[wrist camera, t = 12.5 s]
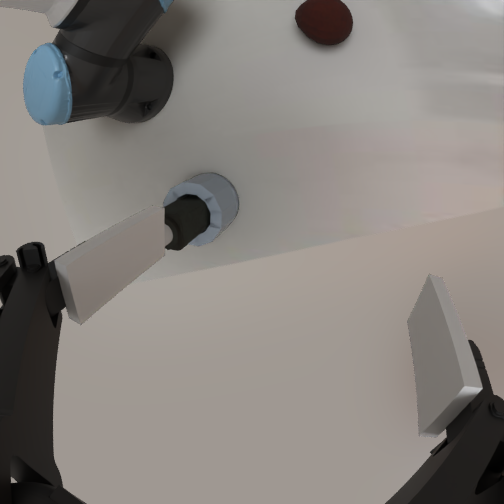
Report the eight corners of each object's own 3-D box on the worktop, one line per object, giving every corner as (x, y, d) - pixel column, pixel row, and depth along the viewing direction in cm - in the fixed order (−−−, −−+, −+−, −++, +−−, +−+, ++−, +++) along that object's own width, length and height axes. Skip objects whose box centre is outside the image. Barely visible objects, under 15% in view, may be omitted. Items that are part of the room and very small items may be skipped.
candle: (194, 216, 51) (94, 291, 30) (193, 188, 49) (83, 250, 27) (221, 219, 50) (128, 302, 28) (220, 190, 47) (117, 258, 26)
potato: (344, 56, 34) (343, 44, 27) (292, 39, 35) (281, 25, 28) (359, 15, 30) (360, -4, 24) (308, -1, 31) (299, -21, 24)
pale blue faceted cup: (186, 222, 54) (164, 238, 48) (186, 169, 50) (163, 179, 43) (237, 233, 52) (220, 251, 45) (241, 176, 47) (222, 187, 41)
